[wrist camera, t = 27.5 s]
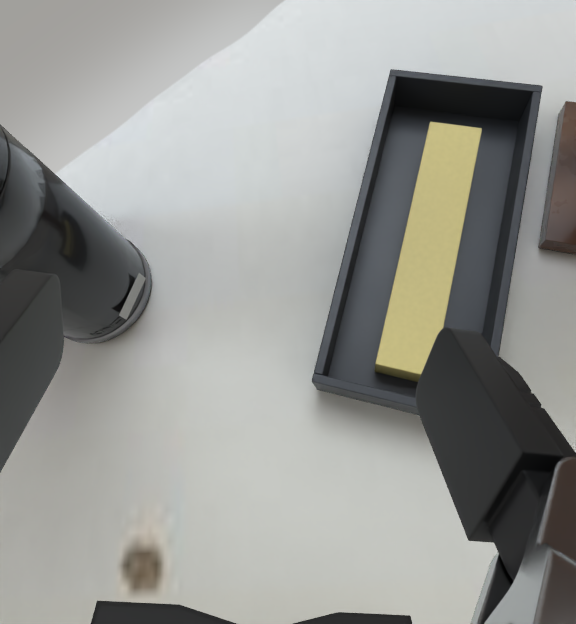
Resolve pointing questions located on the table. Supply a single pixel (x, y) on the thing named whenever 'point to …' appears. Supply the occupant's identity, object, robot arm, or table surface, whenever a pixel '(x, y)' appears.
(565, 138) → the shelf stand
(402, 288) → the butter
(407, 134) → the pan
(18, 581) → the table surface
